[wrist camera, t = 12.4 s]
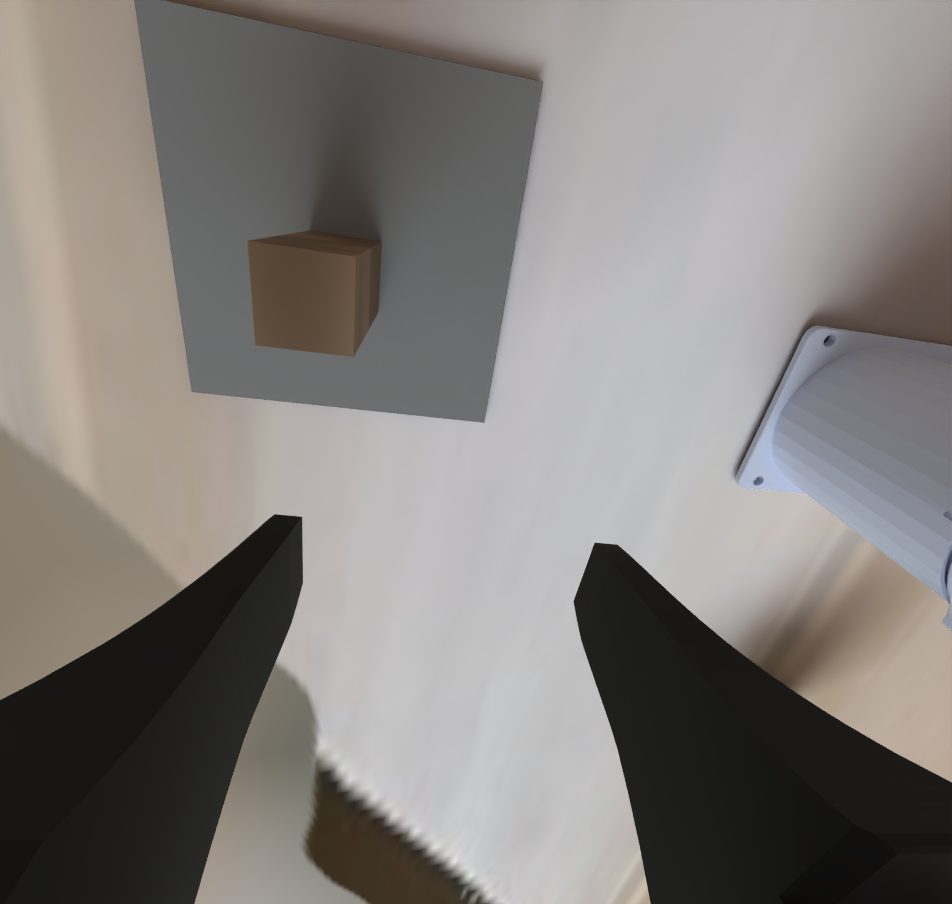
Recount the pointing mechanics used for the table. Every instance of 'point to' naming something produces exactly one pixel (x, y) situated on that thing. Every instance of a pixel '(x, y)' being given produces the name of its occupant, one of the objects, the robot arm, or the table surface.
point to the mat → (337, 202)
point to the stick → (314, 291)
